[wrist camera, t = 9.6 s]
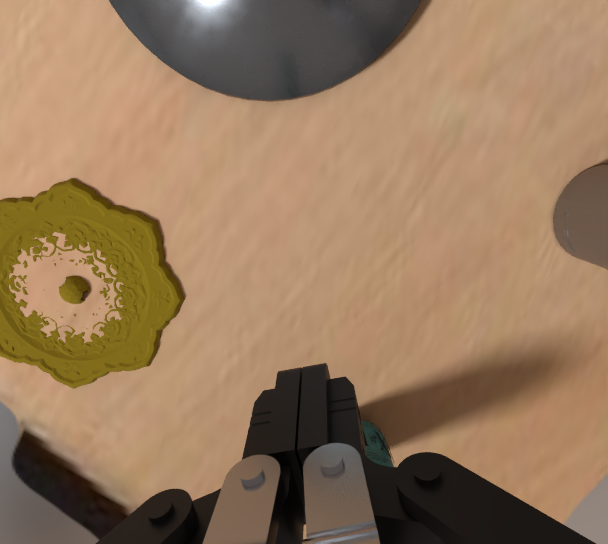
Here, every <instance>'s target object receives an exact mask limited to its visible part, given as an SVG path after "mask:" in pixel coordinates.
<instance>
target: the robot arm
mask: <svg viewBox="0 0 608 544" xmlns="http://www.w3.org/2000/svg"><path fill="white" fill-rule="evenodd" d="M553 223H554V231H555V235H556V238H557V240H558V241H559V243H560V245H561V246H562V247H563V248H564V249H565V251H566V252H568V253H569V254H571V255H572V256H574V257H577V258H579V259H582V260H585V261H587V262H590V263H592V264H595V265H598V266H600V267H603V268H605V269H608V164H605V165H599V166H595V167H592V168H589V169H587V170H586V171H584V172H582V173H580V174H579V175H578V176H576V177H575V178H574V179H573V180H572V181H571V182H570V183H569V184H568V185H567V186H566V187H565V188H564V190H563V192H562V193H561V195H560V197H559V199H558V201H557V204H556V207H555V211H554V217H553ZM305 524H306V532H307V539H304V540H303V525H305ZM96 544H596V543H594V542H592V541H591V540H589V539H587V538H585V537H583V536H582V535H580V534H579V533H577V532H575V531H573V530H572V529H570V528H568V527H566V526H565V525H563V524H561V523H560V522H558V521H556V520H554V519H553V518H551V517H549V516H548V515H546V514H544V513H542V512H541V511H539V510H537V509H535V508H534V507H532V506H530V505H529V504H527V503H525V502H523V501H522V500H520V499H518V498H517V497H515V496H513V495H511V494H510V493H508V492H506V491H504V490H503V489H501V488H499V487H498V486H496V485H494V484H492V483H491V482H489V481H487V480H486V479H484V478H482V477H480V476H479V475H477V474H475V473H473V472H472V471H470V470H468V469H467V468H465V467H463V466H461V465H460V464H458V463H456V462H455V461H453V460H451V459H449V458H448V457H446V456H443V455H441V454H437V453H431V452H423V453H417V454H414V455H411V456H409V457H407V458H406V459H404V460H403V461H402V462H401V463H400V464H399V466H398V467H389V466H383V465H380V464H377V463H375V462H373V461H372V460H370V459H369V458H368V457H367V456H366V449H365V442H364V434H363V427H362V422H361V417H360V413H359V408H358V403H357V399H356V394H355V389H354V385H353V384H352V383H351V382H350V381H349V380H348V379H347V378H346V377H340V378H334V379H330V375H329V370H328V367H327V364H326V363H324V364H318V365H312V366H306V367H303V369H302V368H295V369H290V370H284V371H278V373H277V379H276V386H275V389H270V390H264V391H263V392H262V393H261V395H260V396H259V397H258V399H257V400H256V401H255V403H254V407H253V412H252V417H251V421H250V427H249V430H248V435H247V439H246V444H245V448H244V453H243V457H242V460H241V461H239V462H238V463H237V464H235V465H234V466H233V467H232V468H231V469H230V470H229V472H228V473H227V475H226V477H225V480H224V483H223V486H222V488H221V489H219V490H217V491H215V492H213V493H211V494H208V495H206V496H203V497H201V498H199V499H196V500H194V501H192V499H191V497H190V495H189V494H188V493H187V492H186V491H184V490H182V489H169V490H165V491H162V492H160V493H158V494H156V495H154V496H152V497H151V498H149V499H148V500H147V501H146V502H144V503H143V504H142V505H141V506H140V507H139V508H137V509H136V510H135V511H134V512H133V513H131V514H130V515H129V516H128V517H127V518H126V519H124V520H123V521H122V522H121V523H120V524H118V525H117V526H116V527H115V528H114V529H113V530H111V531H110V532H109V533H108V534H107V535H106V536H104V537H103V538H102V539H101V540H100V541H98V542H97V543H96Z"/></svg>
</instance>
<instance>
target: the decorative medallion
mask: <svg viewBox="0 0 608 544" xmlns="http://www.w3.org/2000/svg"><path fill="white" fill-rule="evenodd" d="M54 232H58V233H63V234H66V237H65V240H68V241H65V245H64V247H67V246H70V245H72V246H73V247H72V249H66V250H63V249H61V248H59V247H58V246H56V241H58V240H57V239H58V237H55V236H52V234H53V233H54ZM35 237H37V238H45V237H47V238H46V242H49V243H52V244H53V245H54V247H55V248H54V251H53V252H52V253H51V254H50V256H52V255H53V254H54V253H55V251H56V248H58V249H60V250H61V251H72V250H74V249H75V248H76V249H77V250H78V251H80V252H83V253H92V252H93V251H94V257H95V259H96V260H98V261H99V262H101V263H103V264H105V265H106V264H107V265H106V270H107V272H108V273H109V274H110V275H111V276H112V277H116V278H117V279H116V280H115V281H114V283H113V285H114V291H115V292H116V293H117V294H118V295H117V296H116V297H115V298H114V303H115V308H116V309H112V310H110V311H109V312H108V313H110V312H111V311H118V312H119V314H120V317H123V316H124V317H123V318H122V319H121V320H120V321H119V319H117V320H115V319H114V316H113V317H112V318H111V319H110V320H111V321H109V322H108V321H107V314H108V313H107V314H106V315H105V321H106V323H108V324H107V325H106V324H105V323H103V322H98V323H97V324H95V325H94V326H93V329H94V327H95V326H96V325H98V324H99V323H101V324H104V325H105V326H104V328H103V327H100V329H99V331H103V332H104V336H102V337H100V338H99V336H98V335H97V334H94V333H92V334H91V336H90V338H91V339H92V341H93V342H87V343H84V339H83V338H82V336H84V334H85V332H82V333H81V334H79V335H74V336H73V337H72V338H70V337H71V336H72V334H73V333H74V332H75V330H74V329H73V328H72V327H70V326H68V327H70V328H71V329H72V330H73V331H72V333H70V332H68V331H65V334H66V335H67V336H66V337H65V340H66V342H65V343H66V344H65V343H64V342H63V340H61V339H59V340H58V337H60V336H59V333H58V331H57V329H58V328H57V323H56V322H55V321H54V320H53V321H54V322H55V323H56V330H55V331H51V332H50V333H51V335H52V336H49V337H46V336H47V334H46V333H44V332H43V331H41V330H40V329H41V328H42V327H44V326H43V324H44V325H45V326H46V325H49V322H48V321H46V322H45V321H44V319H45V318H47V317H43V318H42V319H41V318H40V316H42V315H43V313H42V315H39V316H37V312H36V311H35V310H33V312H32V314H33V315H32V314H31V315H29V316H28V317H25V316H24V314H23V312H22V311H21V310H20V306H22V307H24V308H26V305H27V302H25V301H24V300H22V299H21V300H20V302H19V303H20V304H19V303H17V302H16V301H15V300H14V299H15V298H16V296H15V293H12V292H11V291H10V289H9V284H10V286H11V289H12V290H15V291H17V292H20V290H19V289H18V288H16V287H15V284H14V279H16V277H18V278H20V279H22V280H21V281H23V282H24V279H25V278H26V276H24V278H22V277H21V276H20V275H19V276H15V275H13V276H12V277H11V278H10V279H9V274H10V273H13V270H14V268H13V267H12V266H13V265H15V264H21V263H20V262H19V261H18V260H17V257H18V256H19V255H20V254H21V253H22V252H21V248H22V249H23V250H25V251H26V252H27V255H29V256H31V255H30V247H34V246H38V245H39V247H40V248H39V247H34V248H33V253H34V254H39V253H40V251H41V250H45V251H46V252H47V250H48V247H43V248H42V246H43V244H44V243H42V242H41V241H39V240H38V239H34V238H35ZM33 239H34V240H33ZM87 241H88V242H89V246H90V249H91V250H90V251H82V250H80V249H79V244H81V246H82V247H83V248H85V247H86V246H87V245H88V244H87ZM162 244H163V240H162V236H161V234H160V231H159V229H158V224H157V221H154V220H152V219H149V218H148V217H146V216H145V215H143V214H141V213H140V212H137V211H133V210H127V209H125V208H124V207H121V206H112V205H111V204H110V203H109V201H108V200H107V199H105V198H102V197H100V196H98V195H97V193H96V192H95V191H94V190H93V189H91V188H89V187H88V186H86V185H83V184H81V183H79V182H77V181H76V180H75V179H74V178H71V179H69V180H67V181H64V182H59V183H56V184H54V185H53V186H52V187H51V188H50V189H49V190H48V191H44V192H41V193H39V194H38V195H37V196H36V197H35V198H32V197H22V198H19V199H15V198H5V199H2V200H0V356H1V357H5V358H7V359H9V360H12V361H14V362H19V363H22V362H24V363H27V364H29V365H37V366H38V367H39V368H40V369H41V370H42V371H44V372H47V373H49V374H50V375H51V376H52V377H53V378H54V379H55V380H57V381H58V382H61V383H63V384H65V385H68V386H69V387H71V388H77V387H79V386H81V385H86V384H90V383H92V382H94V381H95V380H96V379H97V378H99V377H103V376H105V375H107V374H108V373H109V372H119V371H122V370H124V371H132V370H136V369H140V368H142V367H147V366H150V364H151V361H152V359H153V358H154V357H155V355H156V353H157V350H158V341H159V340H160V337H161V330H162V329H164V328H165V327H166V326H167V325H168V324H169V322H170V320H172V319H173V318H174V317H176V315H177V314H178V313H179V310H180V306H181V305H182V303H183V301H184V300H185V298H184V296H183V294H182V292H181V289H180V286H179V283H178V282H177V280H176V279H175V278H174V277H173V276H172V273H171V271H170V269H169V268H168V266H167V265H166V264H165V263H164V257H165V255H164V251H163V248H162ZM96 249H98V250H99V251H101V256H100V257H105V258H106V260H105V261H103V260H101V259H99V258H97V253H96ZM41 254H42V252H41ZM58 255H62V254H60V253H58ZM42 256H43V255H41V256H39V255H34V256H33V260H34V262H36V258H35V257H40V259H41V257H42ZM50 256H45V257H50ZM87 258H88V259H90V260H87V262H86V259H84V258H82V259H83V260H85V262H84V264H86V263H88V264H89V265H90V264H92V265H94V263H93V262H94V259H93V256H87ZM60 260H62V259H60ZM15 261H16V262H15ZM41 261H42V259H41ZM53 261H54V260H53ZM69 261H72V262H73V261H74V260H69ZM79 262H82V261H81V260H79ZM23 264H25V265H24V267H25V268H26V267H27V266H28V265H27V262H26V260H25V261H24V263H23ZM77 264H78V263H76V265H77ZM111 264H112V266H111V268H113V269H114V270H116V271H117V272H118V273H117V274H116V275H113V274H112V272H111V270H110V268H109V267H110V265H111ZM54 265H55V266H56V263H54ZM94 266H95V267H92V271H93V273H94V274H95V275H96V276H98V277H100V278H101V275H103V276H104V279H103V280H104V282H105V283H108V284H109V282H110V283H112V282H113V280H114V279H112V278H105V273H102V272H99V273H98V274H97V273H96V271H98V269H99V268H98V266H96V265H94ZM117 282H122V283H123V284H124V285H121V284H120V287H119V289H120V290H121V291H122V292H120V291H118V289H117V288H116V283H117ZM24 283H25V282H24ZM16 285H17V286H18V287H19V288H21V286H20V284H19V283H18V282H16ZM106 285H107V284H106ZM107 287H108V285H107ZM24 288H27V287H23V288H22V289H23V293H24V294H25V295H26V294H27V292H26V290H25V289H24ZM109 289H110V288H109V287H108V290H107V291H105V290H106V289H105V288H103V291H104V292H103V291H100V294H103V293H104V297H105V298H106V296H107V293H106V292H108V291H109ZM84 291H87V292H90V291H89V286H88V284H87V283H86V282H85V281H84V280H83V279H82V278H80V277H78V276H69V277H66V281H65V283H64V284H63V285H62V286H61V287H60V288H59V293H60V295H61V297H62V299H63V300H65V301H66V302H69V303H72V304H79V303H82V302H84V301H85V299H83V298H82V295H83V292H84ZM119 297H121V298H122V299H123V300H120V299H119V302H120V305H124V306H123V307H122V308H120V307H117V305H116V300H117V299H118V298H119ZM109 298H110V297H108V299H106V300H109ZM80 300H81V301H80ZM108 304H109V303H106V304H105V305H108ZM109 308H113V307H112V306H111V305H110V307H109ZM99 309H100V308H99ZM93 315H94V313H93ZM74 316H76V315H75V314H74ZM96 316H97V314H96ZM48 318H49V317H48ZM61 318H63V317H61ZM50 319H51V318H50ZM51 320H52V319H51ZM41 322H42V323H43V324H40V323H41ZM61 327H62V326H61ZM59 328H60V327H59ZM87 329H88V328H87ZM57 340H58V341H57ZM83 343H84V344H83Z"/></svg>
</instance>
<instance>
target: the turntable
mask: <svg viewBox="0 0 608 544" xmlns="http://www.w3.org/2000/svg"><path fill="white" fill-rule="evenodd" d="M109 1H110V3H111V5H112V6H113V8H114V9H115V10H116V12H117V13H118V15H119V16H120V17H121V19H122V20H123V22H124V23H125V24H126V26H127V27H128V28H129V29H130V30H131V32H132V33H133V34H134V35H135V36H136V37H137V38H138V39H139V40H140V42H141V43H142V44H143V45H144V46H145V47H146V48H148V49H149V50H150V51H151V52H152V53H153V54H154V55H156V56H157V57H158V58H159V59H160V60H161V61H162V62H164V63H165V64H166V65H168V66H169V67H171V68H172V69H174V70H175V71H177V72H178V73H180V74H181V75H183V76H184V77H186V78H187V79H189V80H191V81H193V82H195V83H197V84H199V85H201V86H203V87H205V88H207V89H210V90H213V91H215V92H218V93H221V94H224V95H227V96H231V97H236V98H241V99H246V100H255V101H284V100H293V99H298V98H302V97H307V96H312V95H314V94H317V93H320V92H323V91H325V90H328V89H331V88H333V87H335V86H337V85H339V84H340V83H342V82H344V81H346V80H348V79H350V78H351V77H353V76H354V75H356V74H357V73H358V72H360V71H361V70H363V69H364V68H365V67H367V66H368V65H369V64H370V63H372V62H373V61H374V60H375V59H376V58H377V57H378V56H379V55H380V54H381V53H382V52H383V51H384V50H385V49H386V48H387V47H389V45H390V44H391V43H392V42H393V41H394V39H395V38H396V37H397V36H398V35H399V33H400V32H401V31H402V30H403V29H404V27H405V26H406V24H407V23H408V21H409V20H410V18H411V17H412V15H413V13H414V12H415V10H416V9H417V7H418V6H419V3H420V1H421V0H109Z"/></svg>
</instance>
